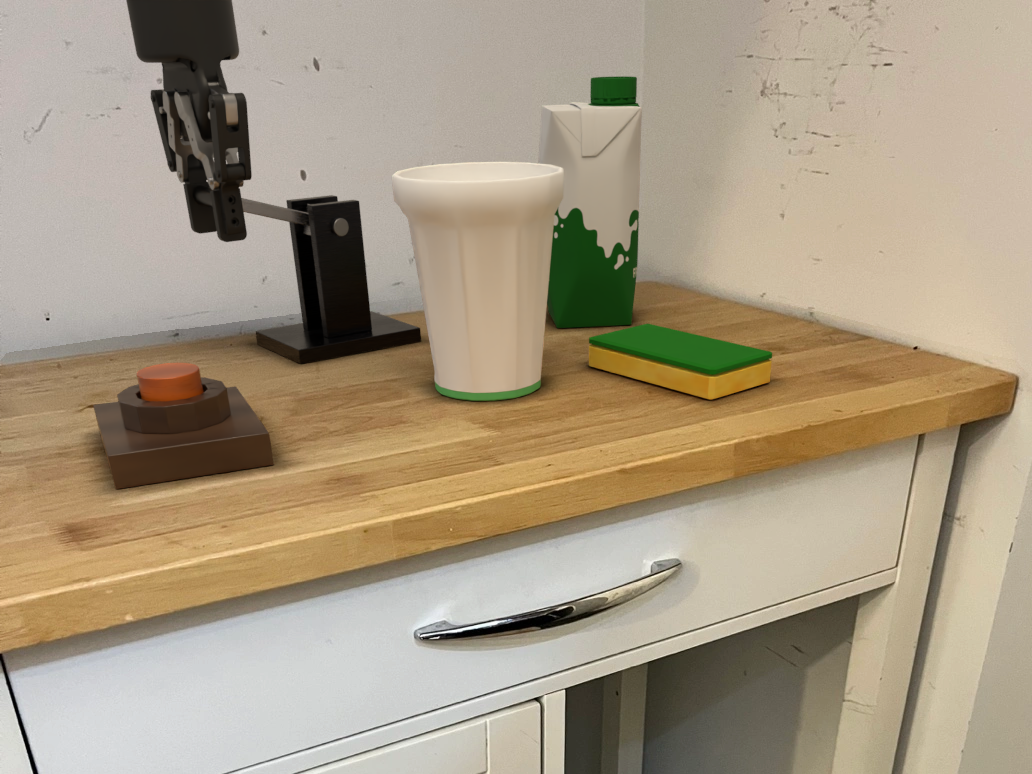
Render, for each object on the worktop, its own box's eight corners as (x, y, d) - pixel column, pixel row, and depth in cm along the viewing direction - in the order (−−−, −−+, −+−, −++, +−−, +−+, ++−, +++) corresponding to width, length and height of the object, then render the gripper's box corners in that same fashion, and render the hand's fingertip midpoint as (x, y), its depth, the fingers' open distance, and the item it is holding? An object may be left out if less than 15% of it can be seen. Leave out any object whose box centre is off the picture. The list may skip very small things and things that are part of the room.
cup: (475, 357, 94) (464, 158, 85) (597, 378, 87) (598, 165, 79) (376, 393, 85) (354, 176, 77) (503, 419, 79) (494, 185, 71)
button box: (100, 435, 78) (86, 378, 76) (241, 415, 81) (231, 360, 79) (115, 489, 68) (100, 426, 66) (274, 465, 72) (264, 404, 70)
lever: (214, 215, 86) (217, 182, 85) (191, 209, 89) (193, 177, 88) (351, 244, 93) (355, 214, 92) (324, 237, 97) (328, 208, 96)
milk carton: (643, 327, 102) (650, 78, 91) (546, 331, 101) (542, 81, 90) (626, 306, 109) (631, 74, 98) (536, 310, 108) (531, 77, 98)
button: (138, 393, 74) (133, 366, 73) (199, 385, 75) (194, 359, 74) (145, 409, 71) (139, 381, 70) (208, 400, 72) (203, 373, 71)
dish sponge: (646, 351, 94) (647, 322, 93) (772, 383, 85) (775, 351, 84) (586, 366, 90) (586, 336, 89) (710, 401, 82) (712, 368, 80)
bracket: (300, 364, 93) (280, 213, 87) (257, 344, 99) (234, 202, 93) (421, 341, 99) (410, 198, 93) (373, 323, 105) (359, 188, 99)
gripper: (95, -10, 83) (144, 231, 92) (161, -19, 73) (209, 253, 82) (190, -11, 87) (228, 221, 96) (265, -19, 77) (299, 241, 86)
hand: (219, 235), depth 89 cm, fingers closed on lever, 5 cm apart
